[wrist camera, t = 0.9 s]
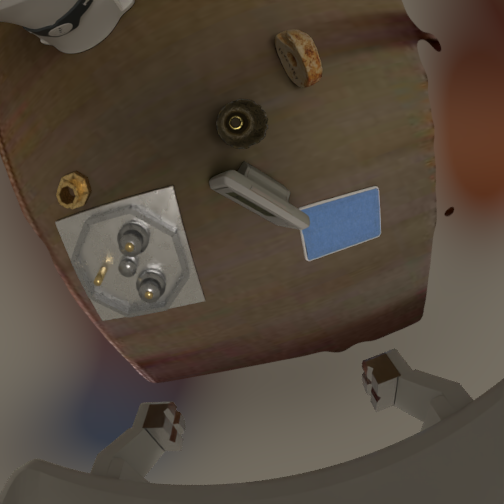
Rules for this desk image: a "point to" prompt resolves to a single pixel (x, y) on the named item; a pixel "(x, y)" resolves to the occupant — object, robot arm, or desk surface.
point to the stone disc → (299, 57)
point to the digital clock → (260, 196)
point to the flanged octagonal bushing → (80, 190)
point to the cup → (242, 123)
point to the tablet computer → (341, 222)
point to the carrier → (133, 255)
